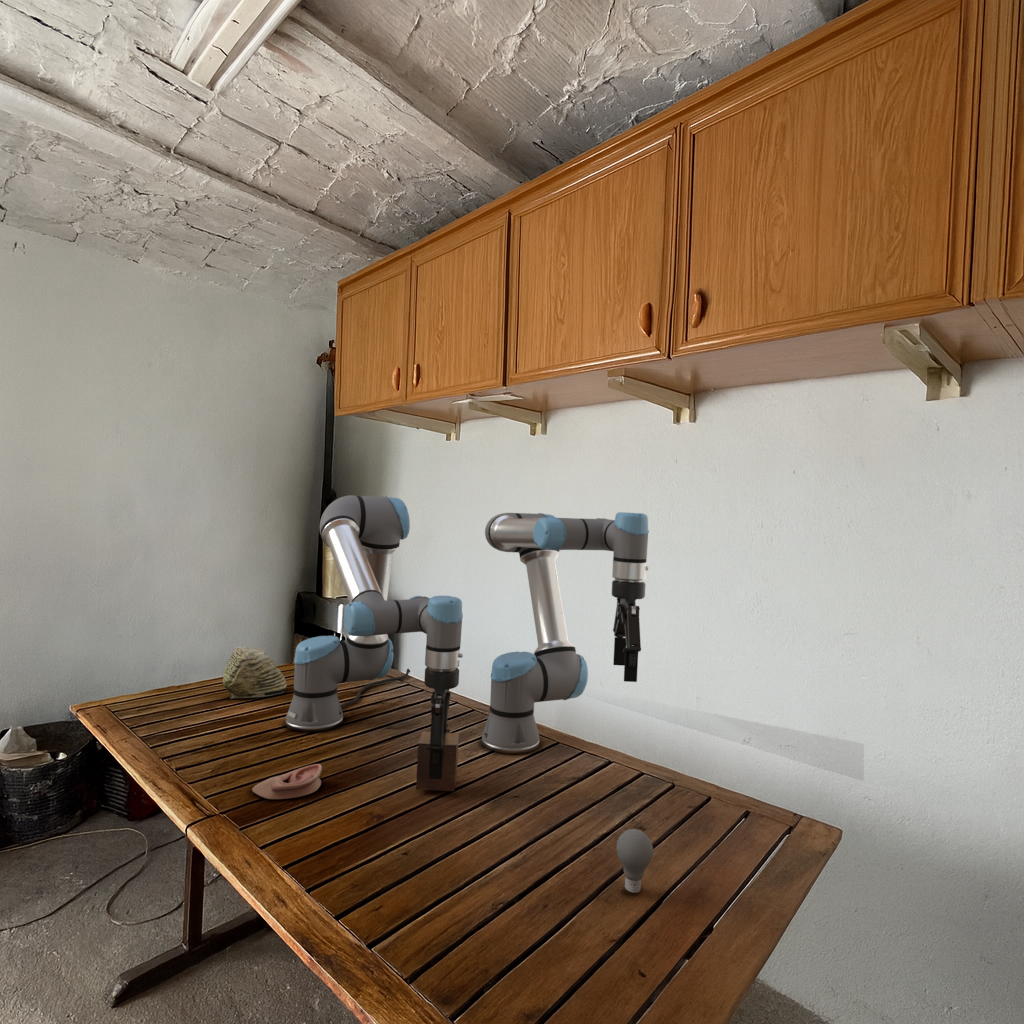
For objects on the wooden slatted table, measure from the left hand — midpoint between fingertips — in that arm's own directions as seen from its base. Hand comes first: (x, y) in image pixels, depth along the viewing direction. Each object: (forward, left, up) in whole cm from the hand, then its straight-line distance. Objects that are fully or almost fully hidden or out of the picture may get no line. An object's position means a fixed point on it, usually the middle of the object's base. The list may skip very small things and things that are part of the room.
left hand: (437, 770), depth 140 cm
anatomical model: (+22, -23, -4) cm, 32 cm away
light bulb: (+4, +50, -4) cm, 50 cm away
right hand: (-30, +29, +22) cm, 47 cm away
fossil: (-5, -86, -4) cm, 87 cm away
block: (0, 0, -3) cm, 3 cm away
